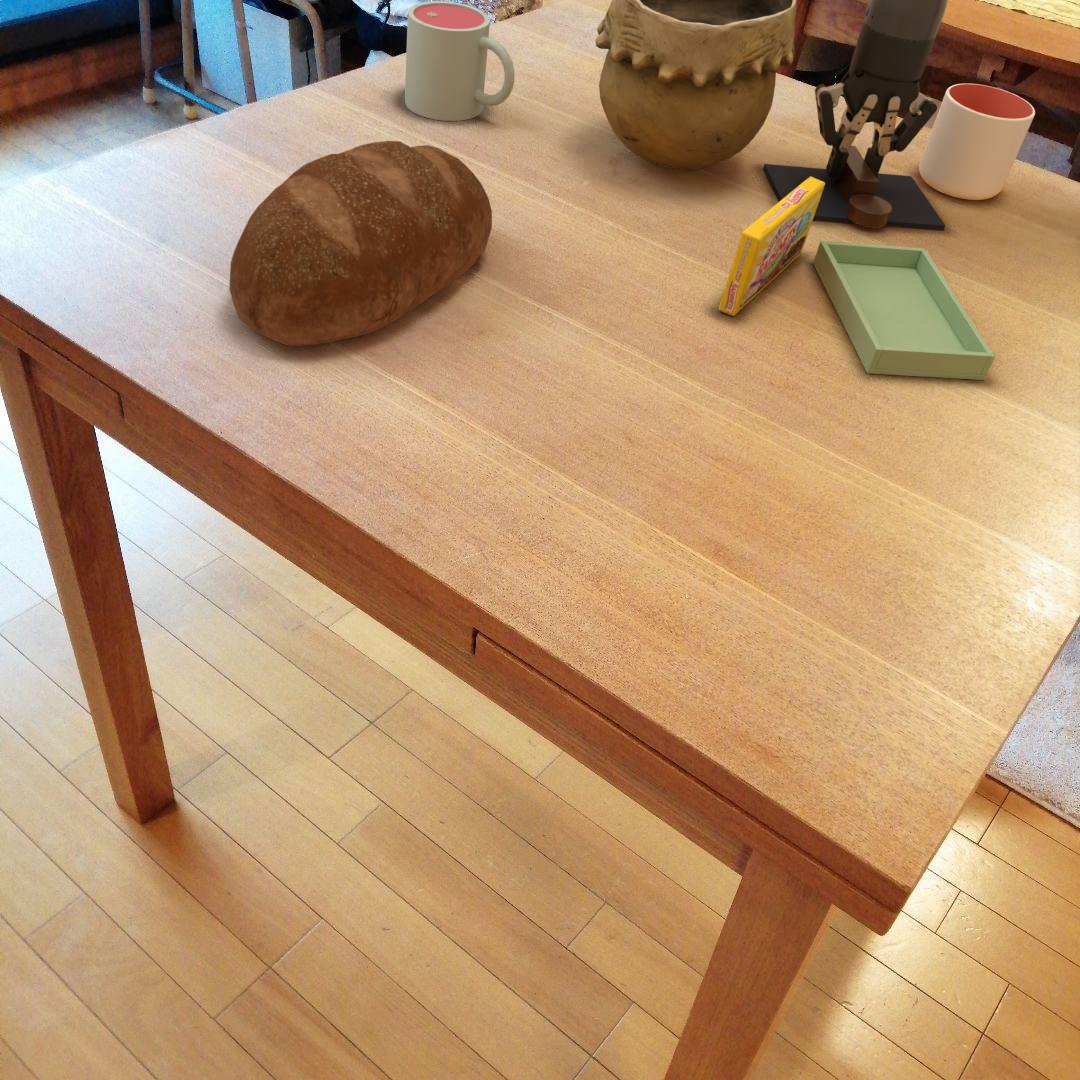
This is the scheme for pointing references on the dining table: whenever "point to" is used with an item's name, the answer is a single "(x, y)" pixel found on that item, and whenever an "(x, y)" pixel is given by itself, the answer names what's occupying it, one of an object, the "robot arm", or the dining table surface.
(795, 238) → the candy box
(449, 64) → the mug
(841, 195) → the mat
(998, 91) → the cup
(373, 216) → the bread
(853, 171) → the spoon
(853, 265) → the tray
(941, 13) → the robot arm
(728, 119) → the clay pot
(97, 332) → the dining table surface
